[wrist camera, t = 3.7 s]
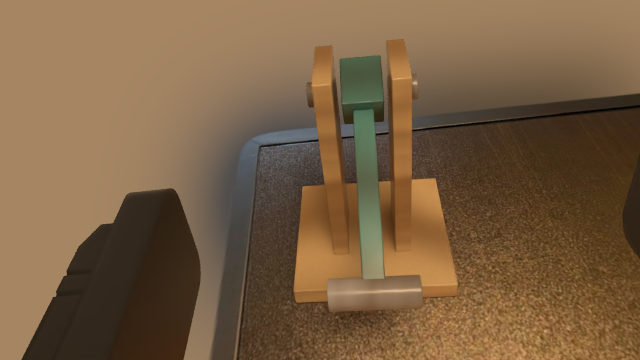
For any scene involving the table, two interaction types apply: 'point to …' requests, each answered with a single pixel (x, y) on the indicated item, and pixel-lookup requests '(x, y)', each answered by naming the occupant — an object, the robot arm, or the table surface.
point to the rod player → (368, 199)
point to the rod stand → (395, 195)
